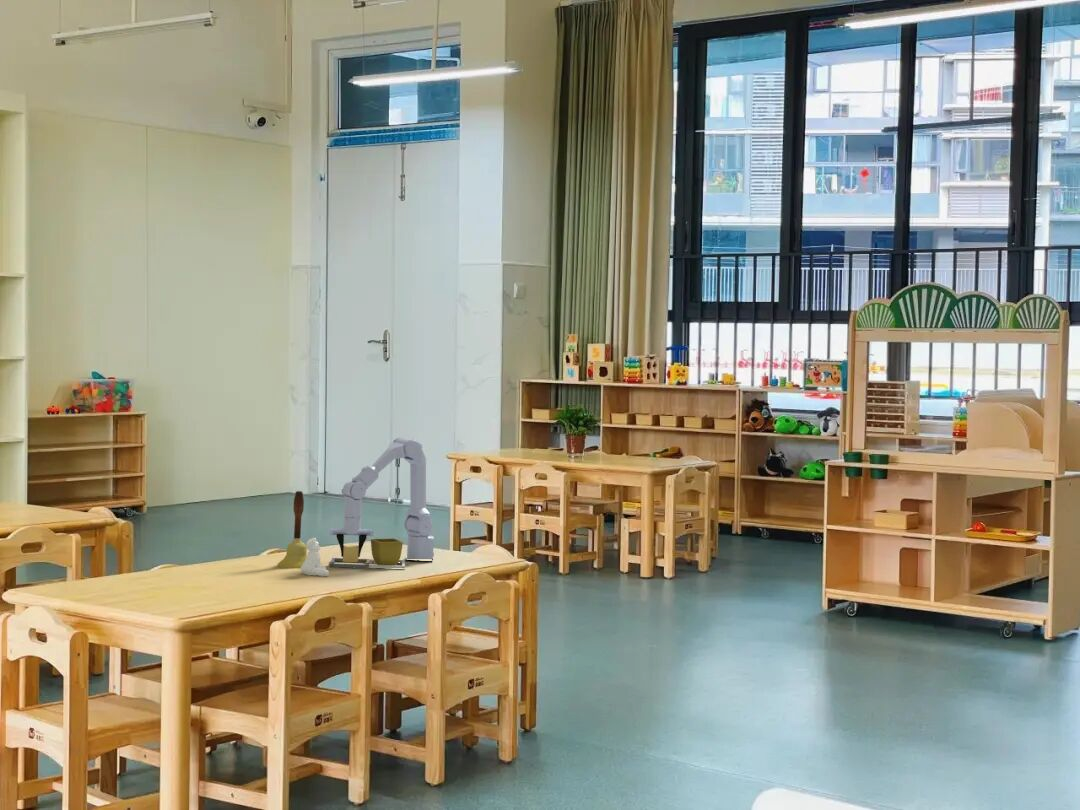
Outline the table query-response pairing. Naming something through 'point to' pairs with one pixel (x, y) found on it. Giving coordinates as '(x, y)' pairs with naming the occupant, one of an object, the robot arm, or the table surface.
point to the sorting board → (364, 565)
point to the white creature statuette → (313, 560)
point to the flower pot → (386, 551)
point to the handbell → (296, 538)
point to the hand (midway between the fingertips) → (350, 556)
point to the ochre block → (350, 553)
